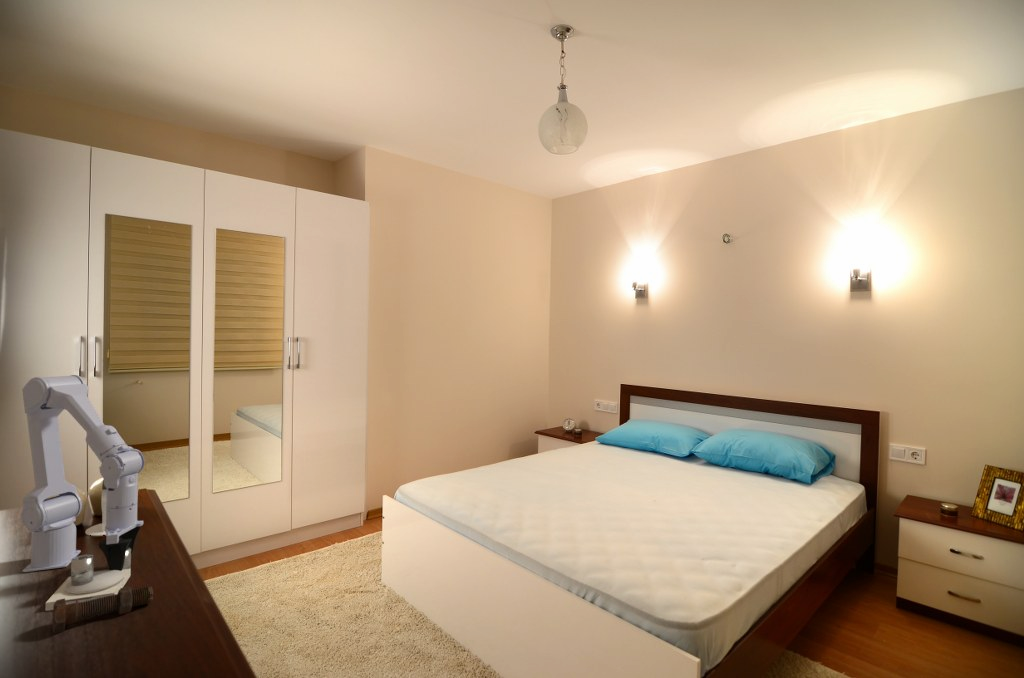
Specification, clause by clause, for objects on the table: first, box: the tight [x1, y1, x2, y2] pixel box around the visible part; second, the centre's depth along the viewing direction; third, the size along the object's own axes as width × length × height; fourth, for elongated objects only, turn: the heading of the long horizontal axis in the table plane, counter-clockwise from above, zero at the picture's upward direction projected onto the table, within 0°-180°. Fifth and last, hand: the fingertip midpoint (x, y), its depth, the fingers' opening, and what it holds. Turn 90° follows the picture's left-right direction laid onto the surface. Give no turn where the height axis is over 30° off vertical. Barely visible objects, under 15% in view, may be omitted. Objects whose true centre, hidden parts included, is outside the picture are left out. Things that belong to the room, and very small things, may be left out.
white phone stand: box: [85, 479, 107, 537], centre depth 145 cm, size 12×11×15 cm
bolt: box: [52, 586, 154, 634], centre depth 100 cm, size 6×5×15 cm
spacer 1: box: [70, 554, 95, 586], centre depth 109 cm, size 4×4×5 cm
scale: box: [44, 568, 132, 612], centre depth 109 cm, size 12×11×2 cm
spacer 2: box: [122, 547, 132, 570], centre depth 119 cm, size 4×4×5 cm
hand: (121, 564), depth 119 cm, fingers open, 7 cm apart
